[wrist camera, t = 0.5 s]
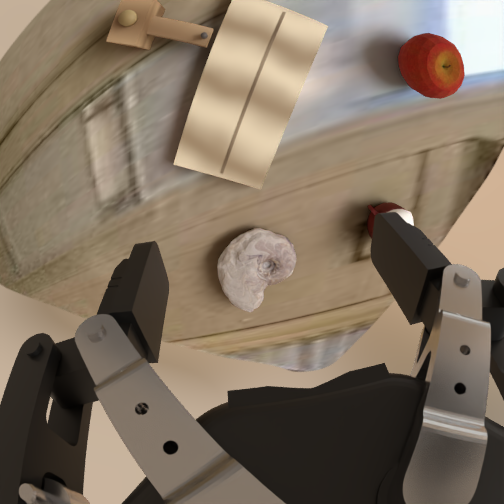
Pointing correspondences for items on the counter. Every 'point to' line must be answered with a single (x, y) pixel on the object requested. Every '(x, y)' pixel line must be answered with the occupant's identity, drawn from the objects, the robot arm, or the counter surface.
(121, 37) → the block
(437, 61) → the apple
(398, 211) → the cocoa
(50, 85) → the counter surface
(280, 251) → the fossil
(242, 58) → the board
